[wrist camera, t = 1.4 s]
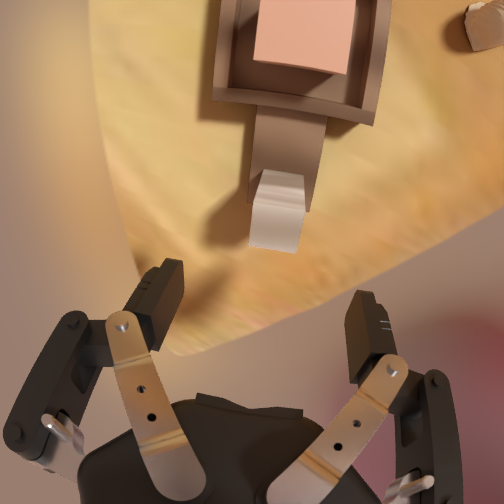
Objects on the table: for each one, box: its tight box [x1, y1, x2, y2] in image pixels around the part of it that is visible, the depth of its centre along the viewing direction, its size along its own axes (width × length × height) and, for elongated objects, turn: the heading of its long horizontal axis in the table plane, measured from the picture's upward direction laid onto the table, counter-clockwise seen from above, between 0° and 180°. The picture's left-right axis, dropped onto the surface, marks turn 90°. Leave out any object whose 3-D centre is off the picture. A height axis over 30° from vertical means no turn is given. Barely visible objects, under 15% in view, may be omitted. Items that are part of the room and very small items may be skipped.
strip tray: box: [212, 0, 392, 253], centre depth 16 cm, size 19×11×7 cm, turn 174°
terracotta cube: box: [253, 0, 356, 75], centre depth 14 cm, size 5×5×5 cm
